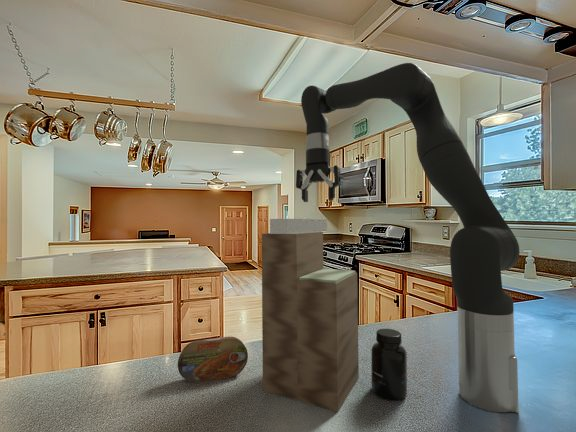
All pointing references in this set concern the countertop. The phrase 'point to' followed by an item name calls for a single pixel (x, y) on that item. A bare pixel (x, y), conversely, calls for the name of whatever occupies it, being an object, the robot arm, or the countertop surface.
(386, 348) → the supplement bottle
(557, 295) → the countertop surface
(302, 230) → the steel bar
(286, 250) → the walnut stand
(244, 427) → the countertop surface
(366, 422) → the countertop surface
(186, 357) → the tin
